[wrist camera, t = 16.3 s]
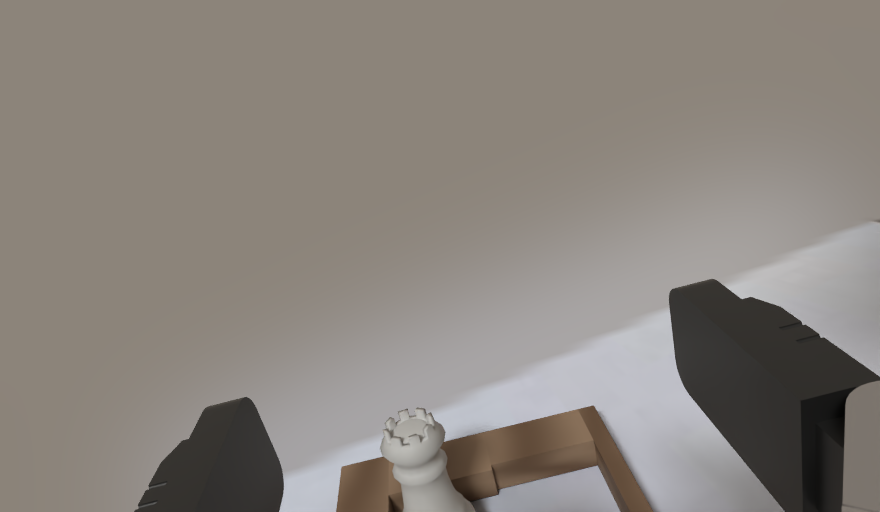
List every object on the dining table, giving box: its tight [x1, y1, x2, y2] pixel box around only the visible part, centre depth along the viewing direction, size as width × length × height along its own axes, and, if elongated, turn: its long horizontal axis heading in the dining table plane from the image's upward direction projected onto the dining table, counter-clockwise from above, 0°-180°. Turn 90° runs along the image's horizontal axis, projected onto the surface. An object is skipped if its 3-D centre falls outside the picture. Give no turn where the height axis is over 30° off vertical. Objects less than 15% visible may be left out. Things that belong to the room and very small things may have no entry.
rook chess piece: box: [380, 408, 476, 512], centre depth 30 cm, size 4×4×8 cm
